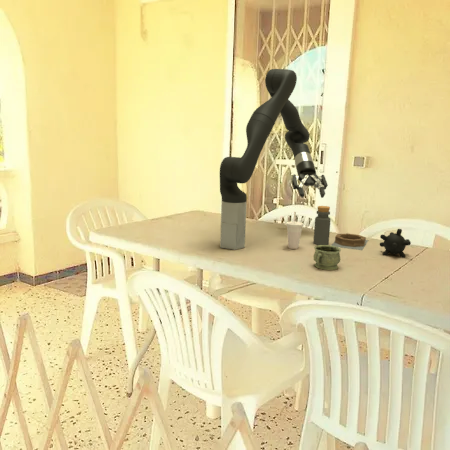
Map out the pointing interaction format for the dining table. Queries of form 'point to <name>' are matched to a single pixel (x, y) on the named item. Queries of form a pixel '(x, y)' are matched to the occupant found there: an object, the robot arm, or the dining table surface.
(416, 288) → the dining table surface
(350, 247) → the mat
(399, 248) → the toy ball
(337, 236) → the ring
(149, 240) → the dining table surface
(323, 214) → the bottle
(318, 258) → the vessel
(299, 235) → the smoothie
